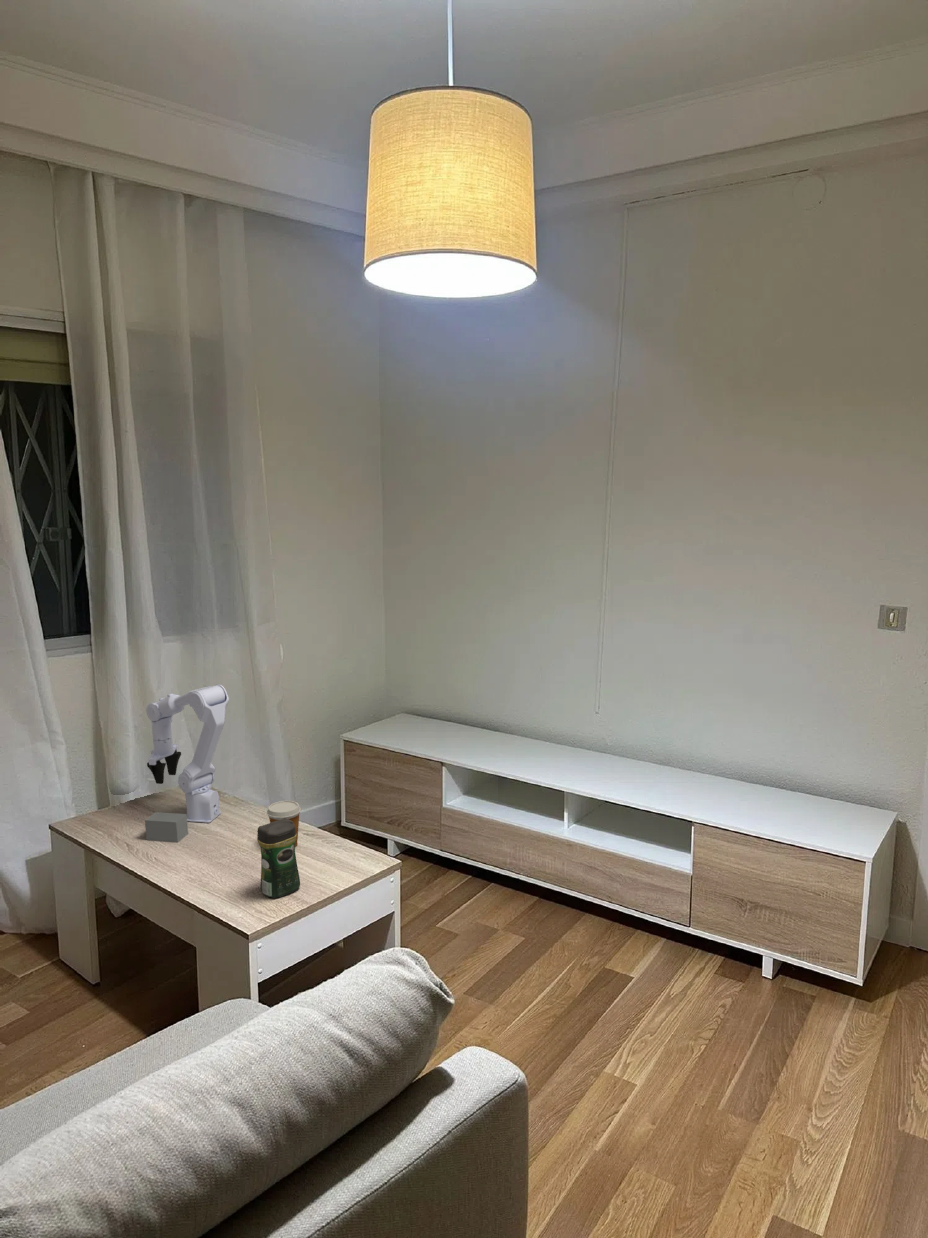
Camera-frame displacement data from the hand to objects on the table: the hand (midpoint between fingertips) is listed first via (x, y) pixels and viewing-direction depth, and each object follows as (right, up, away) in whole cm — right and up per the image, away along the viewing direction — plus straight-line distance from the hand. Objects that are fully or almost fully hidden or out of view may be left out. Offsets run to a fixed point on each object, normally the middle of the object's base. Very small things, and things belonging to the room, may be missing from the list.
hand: (166, 779), depth 284 cm
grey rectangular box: (+7, -13, -21) cm, 26 cm away
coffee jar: (+48, -19, -54) cm, 75 cm away
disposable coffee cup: (+44, -14, -28) cm, 54 cm away
